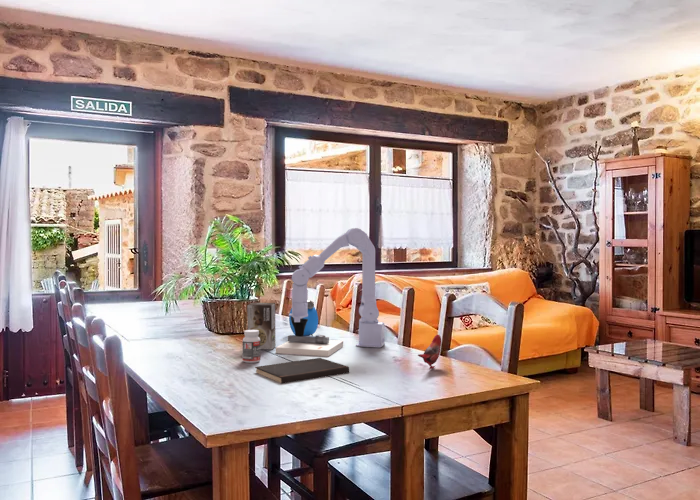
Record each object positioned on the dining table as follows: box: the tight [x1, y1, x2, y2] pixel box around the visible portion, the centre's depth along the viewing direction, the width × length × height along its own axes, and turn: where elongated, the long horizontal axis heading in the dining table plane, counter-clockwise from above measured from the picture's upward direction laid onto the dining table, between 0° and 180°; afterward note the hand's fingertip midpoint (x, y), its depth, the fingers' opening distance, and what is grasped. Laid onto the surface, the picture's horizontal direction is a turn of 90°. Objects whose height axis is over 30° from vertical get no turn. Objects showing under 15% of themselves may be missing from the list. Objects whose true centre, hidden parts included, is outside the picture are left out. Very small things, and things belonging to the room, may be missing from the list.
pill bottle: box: [241, 329, 261, 364], centre depth 188 cm, size 6×6×10 cm
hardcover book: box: [254, 357, 350, 385], centre depth 173 cm, size 16×23×2 cm
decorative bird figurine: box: [417, 334, 442, 370], centre depth 177 cm, size 3×18×10 cm, turn 149°
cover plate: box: [275, 339, 344, 357], centre depth 208 cm, size 19×19×2 cm
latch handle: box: [287, 334, 330, 344], centre depth 211 cm, size 15×4×2 cm, turn 75°
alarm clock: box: [288, 299, 319, 336], centre depth 237 cm, size 13×6×15 cm, turn 38°
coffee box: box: [246, 302, 277, 350], centre depth 211 cm, size 9×6×16 cm
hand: (299, 339), depth 214 cm, fingers closed
